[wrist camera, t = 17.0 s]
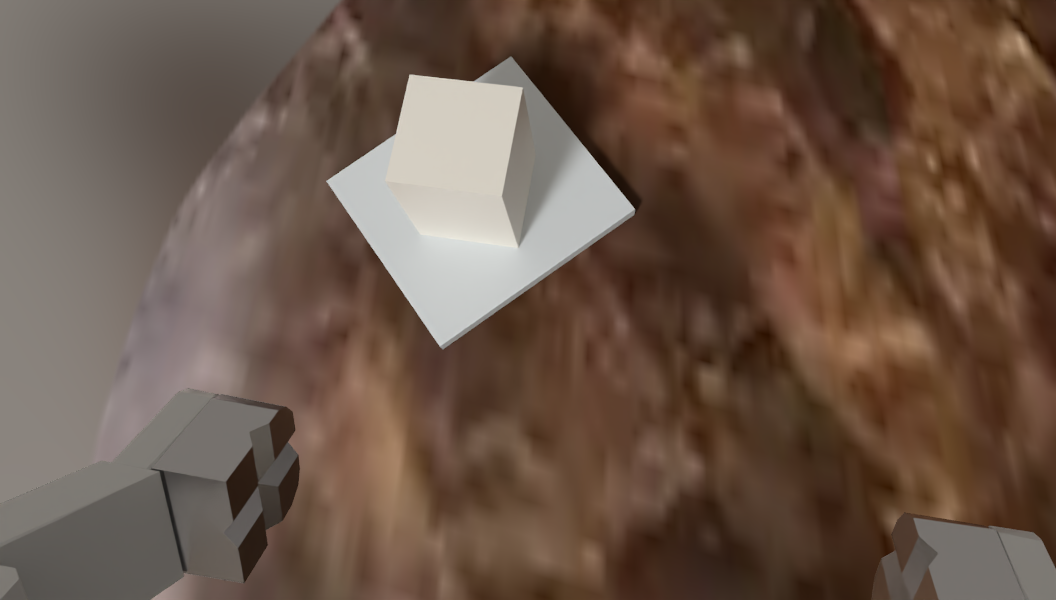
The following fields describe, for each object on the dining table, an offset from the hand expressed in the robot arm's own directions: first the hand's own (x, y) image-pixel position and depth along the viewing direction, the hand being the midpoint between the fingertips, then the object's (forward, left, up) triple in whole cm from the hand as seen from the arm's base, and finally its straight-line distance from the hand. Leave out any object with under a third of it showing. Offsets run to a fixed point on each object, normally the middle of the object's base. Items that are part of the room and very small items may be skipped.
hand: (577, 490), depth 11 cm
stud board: (-5, -18, -31) cm, 36 cm away
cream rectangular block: (-5, -18, -31) cm, 36 cm away
